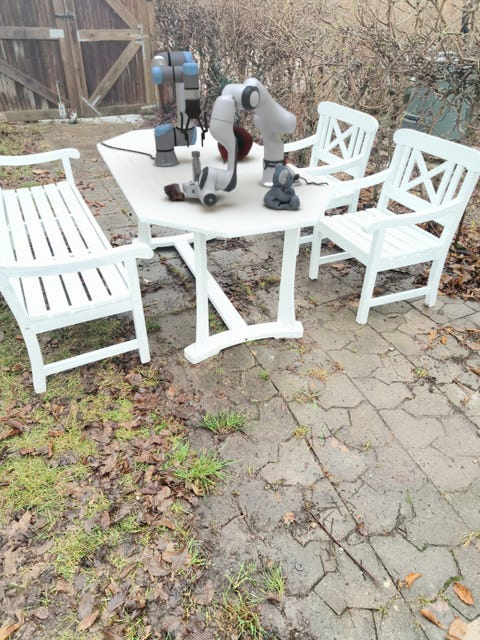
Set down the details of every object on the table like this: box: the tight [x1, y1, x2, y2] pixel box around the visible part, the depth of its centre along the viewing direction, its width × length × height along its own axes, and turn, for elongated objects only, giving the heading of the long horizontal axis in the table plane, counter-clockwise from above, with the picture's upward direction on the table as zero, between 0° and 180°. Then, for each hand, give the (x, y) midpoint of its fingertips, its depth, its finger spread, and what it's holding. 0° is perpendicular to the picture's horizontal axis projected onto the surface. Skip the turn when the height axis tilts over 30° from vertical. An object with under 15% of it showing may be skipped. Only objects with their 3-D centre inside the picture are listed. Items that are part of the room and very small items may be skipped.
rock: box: [163, 182, 187, 201], centre depth 236 cm, size 12×9×10 cm
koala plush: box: [262, 164, 301, 211], centre depth 224 cm, size 17×18×20 cm
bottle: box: [191, 157, 202, 182], centre depth 244 cm, size 5×5×20 cm
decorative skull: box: [217, 125, 254, 164], centre depth 298 cm, size 21×24×25 cm
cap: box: [190, 150, 201, 158], centre depth 239 cm, size 5×4×2 cm
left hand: (195, 146), depth 237 cm, fingers open, 7 cm apart
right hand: (199, 181), depth 242 cm, fingers open, 8 cm apart
